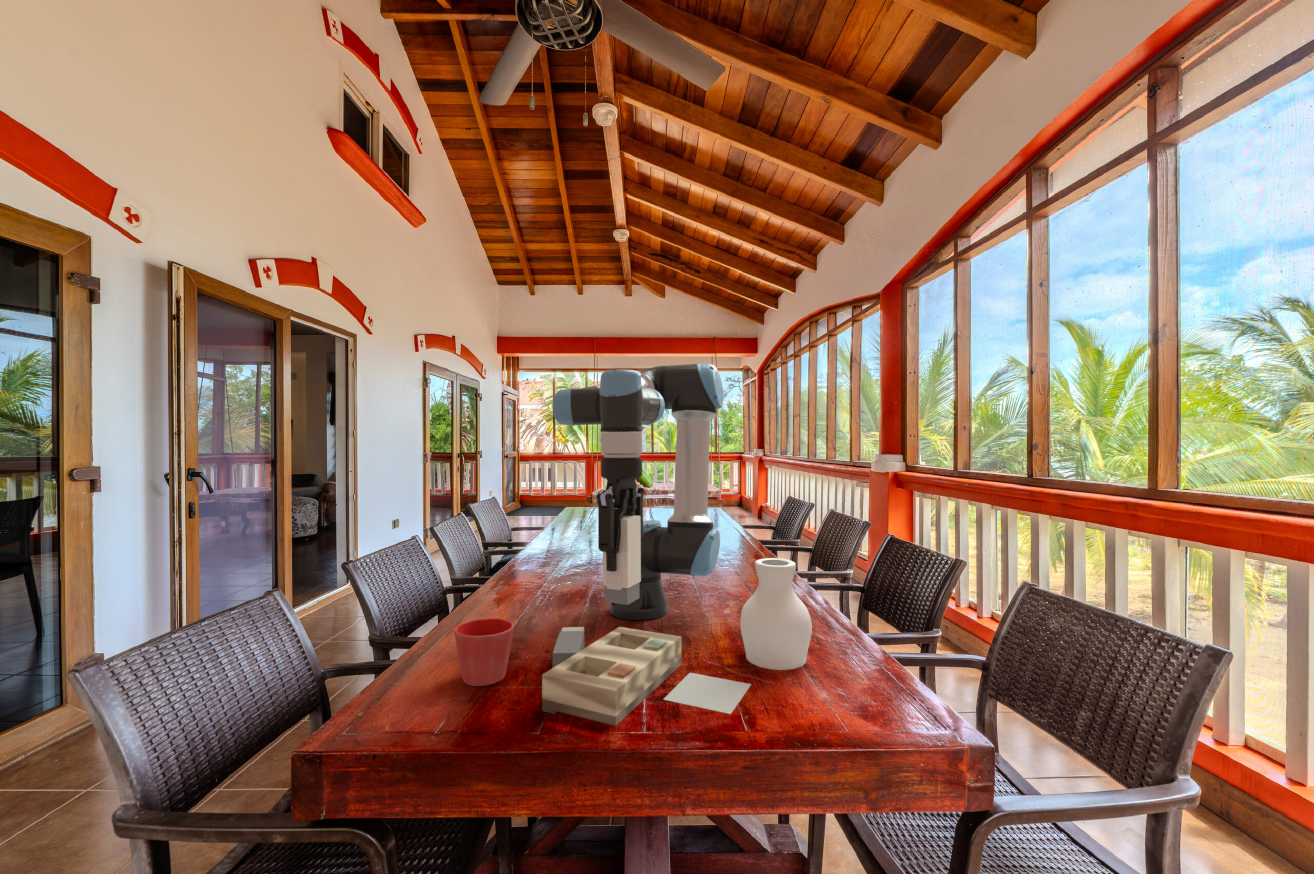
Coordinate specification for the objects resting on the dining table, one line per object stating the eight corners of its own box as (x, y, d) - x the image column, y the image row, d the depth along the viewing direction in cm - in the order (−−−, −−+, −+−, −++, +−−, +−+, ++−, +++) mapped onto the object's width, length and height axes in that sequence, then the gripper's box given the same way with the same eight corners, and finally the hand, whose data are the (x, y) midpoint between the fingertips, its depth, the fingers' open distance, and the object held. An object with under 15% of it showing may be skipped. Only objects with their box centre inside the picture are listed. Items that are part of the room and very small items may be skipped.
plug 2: (617, 594, 105) (616, 514, 105) (640, 597, 103) (640, 515, 103) (603, 601, 100) (602, 517, 100) (627, 605, 98) (627, 519, 98)
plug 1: (561, 649, 121) (561, 626, 121) (585, 649, 121) (585, 625, 121) (552, 679, 106) (552, 653, 106) (579, 679, 106) (579, 652, 106)
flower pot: (495, 661, 114) (495, 613, 114) (524, 677, 106) (524, 626, 106) (444, 677, 107) (444, 626, 107) (471, 696, 99) (471, 640, 99)
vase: (726, 661, 113) (725, 562, 113) (764, 642, 124) (763, 551, 124) (789, 682, 104) (788, 573, 104) (825, 659, 114) (824, 561, 114)
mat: (689, 675, 107) (689, 672, 107) (751, 687, 102) (751, 684, 102) (663, 702, 96) (663, 699, 96) (730, 717, 91) (730, 713, 91)
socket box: (619, 655, 117) (619, 624, 117) (681, 667, 111) (681, 634, 111) (542, 710, 93) (542, 671, 93) (615, 729, 87) (615, 687, 87)
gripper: (627, 454, 111) (627, 571, 111) (575, 457, 95) (576, 595, 95) (661, 454, 108) (662, 575, 108) (614, 458, 92) (615, 600, 92)
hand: (622, 584), depth 102 cm, fingers closed on plug 2, 5 cm apart
